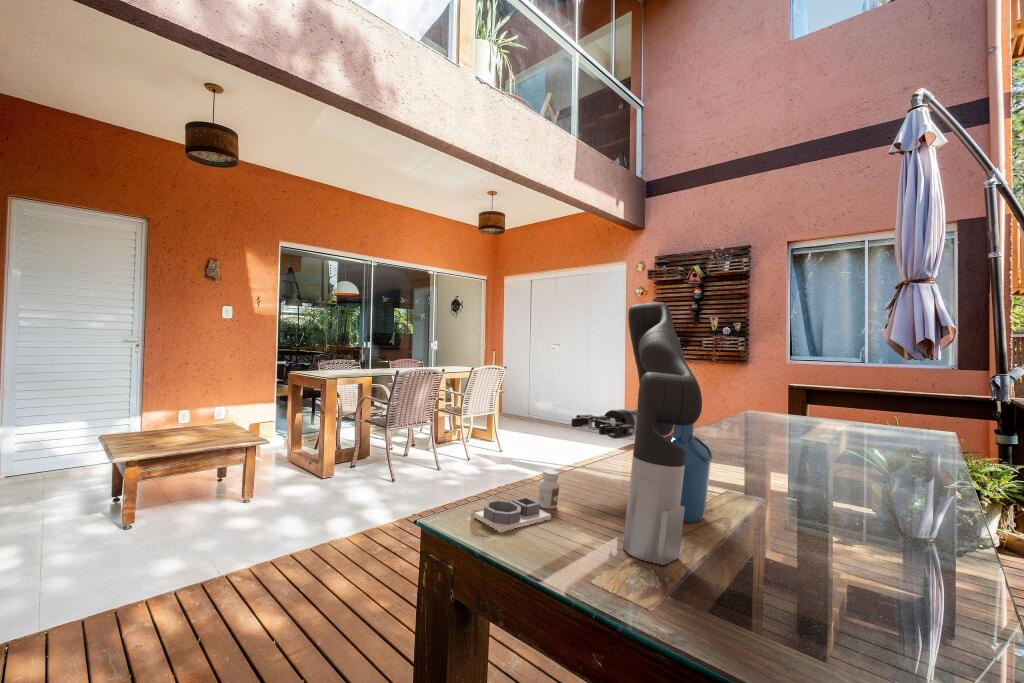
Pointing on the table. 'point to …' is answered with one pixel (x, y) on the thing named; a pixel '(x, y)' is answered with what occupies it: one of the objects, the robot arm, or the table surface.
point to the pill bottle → (549, 489)
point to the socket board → (511, 513)
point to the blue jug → (693, 472)
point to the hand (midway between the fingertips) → (586, 426)
